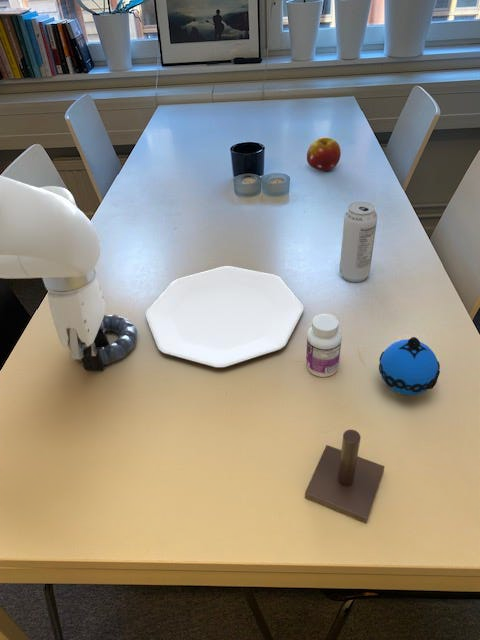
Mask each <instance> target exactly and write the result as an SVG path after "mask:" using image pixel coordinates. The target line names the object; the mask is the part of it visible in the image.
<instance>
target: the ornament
mask: <svg viewBox="0 0 480 640" xmlns="http://www.w3.org/2000/svg"><path fill="white" fill-rule="evenodd" d="M378 361H379V364H378V370H379V371H378V372H379V374H380V376H381V379H382V381H383V382H384V384H385V385H386V386H387V387H388V388H389V389H390V390H391V391H393V392H395V393H397V394H400V395H403V396H417V395H421V394H423V393H425V392H427V391H428V390H429V391H430V390H431V391H432V389H433V388H434V387H435V386H436V384H437V383H438V379H439V376H440V374H441V369H440V368H441V366H440V362H439V360H438V358H437V356H436V354H435V352H434V350H432V349H431V347H429V346H428V345H427V344H425V343H424V342H422V341H420V339H419V338H417V337H415V336H412V337H410V338H409V339H400V340H397V341H395V342H393V343H391V344H390V345H389V346H388V347H386V348H385V349H384V351H382V352H381V354H380V356H379V360H378Z"/></svg>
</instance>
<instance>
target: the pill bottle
mask: <svg viewBox="0 0 480 640" xmlns="http://www.w3.org/2000/svg"><path fill="white" fill-rule="evenodd" d="M311 322H312V323H311V327H310V328H309V329H308V331H307V334H306V352H305V353H306V354H305V355H306V356H305V366H306V369H307V370H308V371H309V372H310V373H311V374H312V375H314V376H316V377H320V378H326V377H330V376H333V375H334V374H335V373H336V372H338V370H339V368H340V358H341V349H342V348H341V347H342V339H343V335H342V332H341V330H340V328H339V326H340V323H339V319H338V318H337V317H336V316H334V315H333V314H330V313H320V314H317V315H315V316H314V317H313V318H312V320H311Z"/></svg>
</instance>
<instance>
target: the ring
mask: <svg viewBox="0 0 480 640" xmlns="http://www.w3.org/2000/svg"><path fill="white" fill-rule="evenodd" d="M103 323H104V325H105V329H106V330H105V333H107V332H114V333H117V334H118V335H119V336H118V338H116V340H115V341H114V342H112V343H109V345H107V346H104V347H96V351H99V352H100V355H101V358H102V361H103V364H104V366H105V365H109V364H112V363H114V362H116V361H119V360H121V359H123V358H125V357H126V356H127V355H128V354H129V353H130V352H131V351H132V349H134V347H135V346H136V343H137V337H138V329H137V328H136V326H135V325H134V323H133V322H132V321H131V320H130V319H129V318H127V317H125V316H121V315H118V314H105V315H104V318H103ZM82 348H88V349H89V346H88V347H87V346H86V345H85V344H82ZM68 349H69V350H70V352H71V349H70V343H69V345H68ZM75 360H76V361H78V362H81V363H82V360H81V359H75Z"/></svg>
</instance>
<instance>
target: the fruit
mask: <svg viewBox="0 0 480 640" xmlns="http://www.w3.org/2000/svg"><path fill="white" fill-rule="evenodd" d="M341 152H342V151H341V146H340V144H339V143H338V142H337V140H335V139H333V138H331V137H327V136H325V137H320V138H317V139H315V140H314V141H312V142H311V144H310V145H309V147H308V149H307V152H306V161H307V163H308V166H310V167H311V168H312V169H315V170H317V171H323V172H328V171H330V170H333V169H334V168H335V167H336V166H338V164H339V162H340V160H341V155H342V153H341Z"/></svg>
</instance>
